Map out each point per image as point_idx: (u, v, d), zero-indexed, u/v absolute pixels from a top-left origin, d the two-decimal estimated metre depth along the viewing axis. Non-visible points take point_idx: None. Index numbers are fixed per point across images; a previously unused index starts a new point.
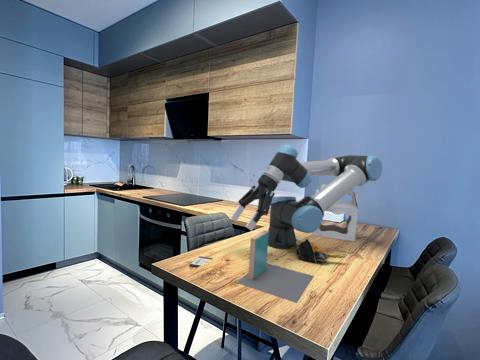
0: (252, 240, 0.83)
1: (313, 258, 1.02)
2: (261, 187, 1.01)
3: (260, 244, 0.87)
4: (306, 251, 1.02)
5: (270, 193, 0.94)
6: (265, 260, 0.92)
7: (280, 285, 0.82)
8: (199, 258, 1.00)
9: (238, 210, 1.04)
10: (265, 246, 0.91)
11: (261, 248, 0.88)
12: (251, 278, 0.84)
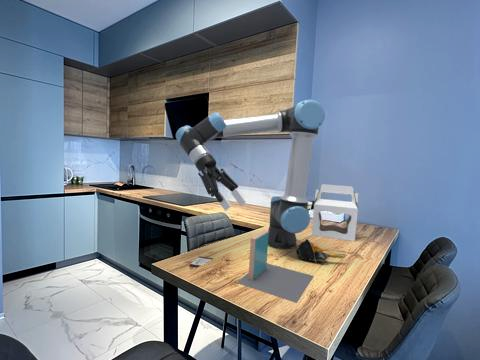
0: (252, 240, 0.83)
1: (313, 258, 1.02)
2: None
3: (260, 244, 0.87)
4: (306, 251, 1.02)
5: (200, 175, 0.91)
6: (265, 260, 0.92)
7: (280, 285, 0.82)
8: (199, 258, 1.00)
9: (235, 195, 0.98)
10: (265, 246, 0.91)
11: (261, 248, 0.88)
12: (251, 278, 0.84)
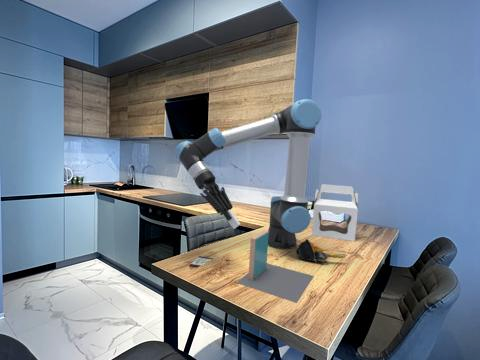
0: (252, 240, 0.83)
1: (313, 258, 1.02)
2: None
3: (260, 244, 0.87)
4: (306, 251, 1.02)
5: (203, 195, 0.91)
6: (265, 260, 0.92)
7: (280, 285, 0.82)
8: (200, 258, 1.00)
9: None
10: (265, 246, 0.91)
11: (261, 248, 0.88)
12: (251, 278, 0.84)
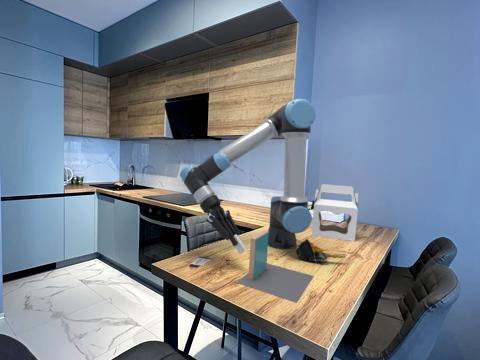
0: (252, 240, 0.83)
1: (313, 258, 1.02)
2: None
3: (260, 244, 0.87)
4: (306, 251, 1.02)
5: (209, 221, 0.91)
6: (265, 260, 0.92)
7: (280, 285, 0.82)
8: (200, 258, 1.00)
9: None
10: (265, 246, 0.91)
11: (261, 248, 0.88)
12: (251, 278, 0.84)
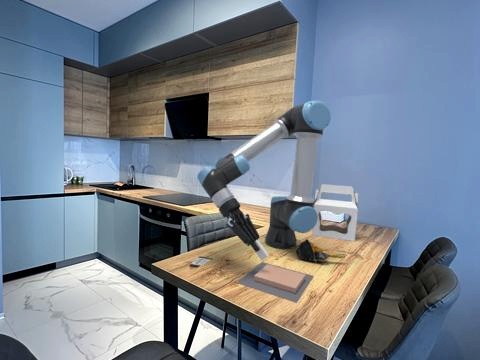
0: (293, 289, 0.77)
1: (313, 258, 1.02)
2: None
3: None
4: (306, 251, 1.02)
5: (230, 226, 0.87)
6: None
7: None
8: (200, 258, 1.00)
9: None
10: None
11: None
12: (255, 279, 0.84)
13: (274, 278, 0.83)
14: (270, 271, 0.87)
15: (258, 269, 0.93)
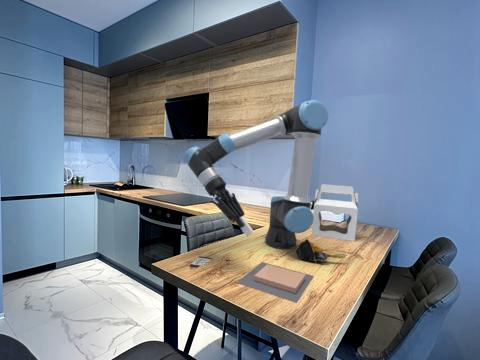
0: (293, 289, 0.77)
1: (313, 258, 1.02)
2: None
3: None
4: (306, 251, 1.02)
5: (215, 203, 0.89)
6: None
7: None
8: (200, 258, 1.00)
9: None
10: None
11: None
12: (255, 279, 0.84)
13: (274, 278, 0.83)
14: (270, 271, 0.87)
15: (258, 269, 0.93)
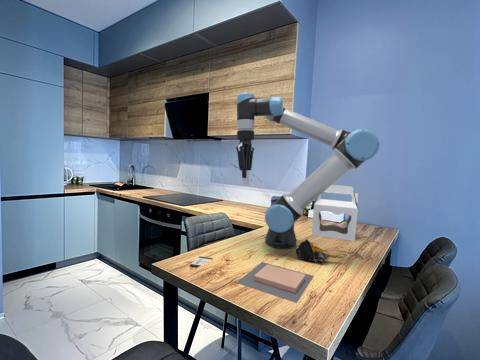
0: (293, 289, 0.77)
1: (313, 258, 1.02)
2: None
3: None
4: (306, 251, 1.02)
5: (238, 150, 1.06)
6: None
7: None
8: (200, 258, 1.00)
9: None
10: None
11: None
12: (255, 279, 0.84)
13: (274, 278, 0.83)
14: (270, 271, 0.87)
15: (258, 269, 0.93)
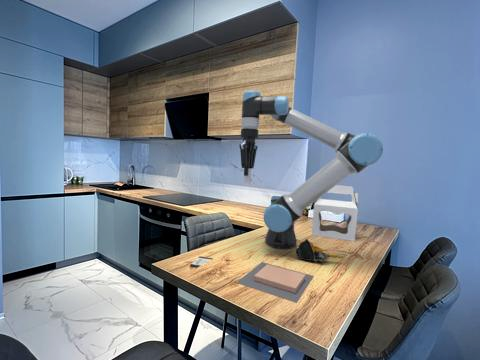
0: (293, 289, 0.77)
1: (313, 258, 1.02)
2: None
3: None
4: (306, 251, 1.02)
5: (241, 147, 1.06)
6: None
7: None
8: (200, 258, 1.00)
9: None
10: None
11: None
12: (255, 279, 0.84)
13: (274, 278, 0.83)
14: (270, 271, 0.87)
15: (258, 269, 0.93)
